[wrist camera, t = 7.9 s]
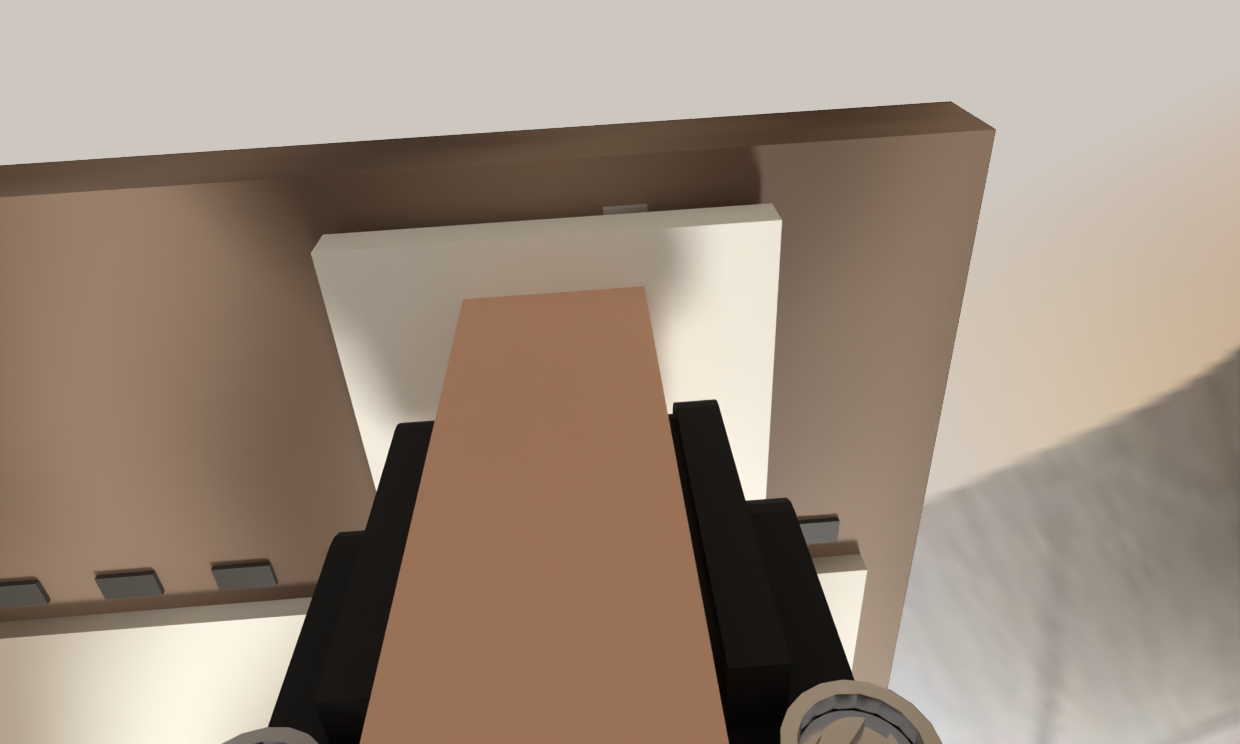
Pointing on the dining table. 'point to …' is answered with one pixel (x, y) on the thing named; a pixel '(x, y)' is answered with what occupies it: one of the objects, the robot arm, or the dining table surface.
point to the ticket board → (320, 401)
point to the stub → (554, 461)
